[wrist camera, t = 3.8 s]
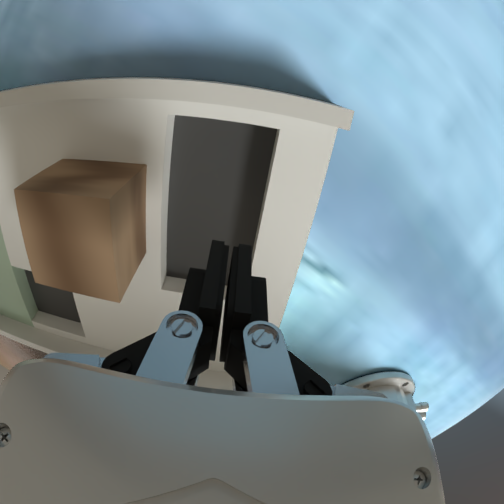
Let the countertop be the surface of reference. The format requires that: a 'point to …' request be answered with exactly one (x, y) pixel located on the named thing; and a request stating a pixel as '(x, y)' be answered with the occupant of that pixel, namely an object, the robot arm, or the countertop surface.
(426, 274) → the countertop surface
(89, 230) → the block
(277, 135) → the box
